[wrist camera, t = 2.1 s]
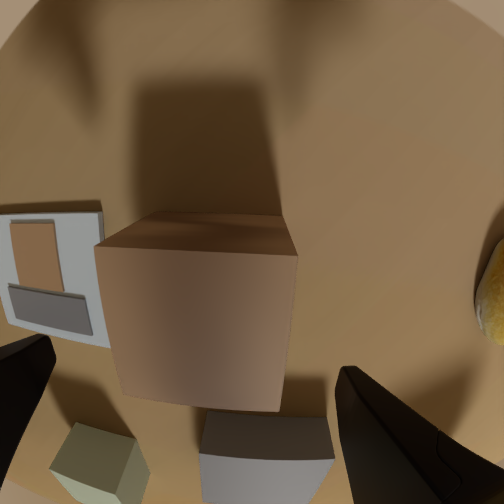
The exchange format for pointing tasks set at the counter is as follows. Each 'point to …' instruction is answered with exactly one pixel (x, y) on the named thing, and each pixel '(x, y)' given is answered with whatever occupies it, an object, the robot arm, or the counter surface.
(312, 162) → the counter surface
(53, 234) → the card
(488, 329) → the bread roll
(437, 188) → the counter surface
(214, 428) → the charcoal block
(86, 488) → the sage cube
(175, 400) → the walnut cube
